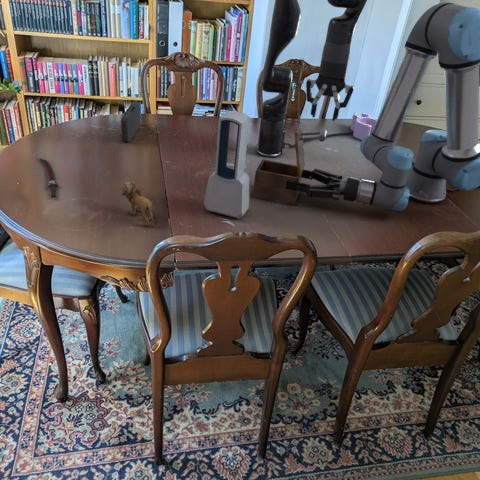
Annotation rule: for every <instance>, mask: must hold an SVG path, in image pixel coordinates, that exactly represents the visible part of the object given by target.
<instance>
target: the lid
mask: <svg viewBox="0 0 480 480" xmlns="http://www.w3.org/2000/svg"><path fill="white" fill-rule="evenodd" d="M293 134H294V145H295V147H294V148H295V159H296V166H297V172H298V177H301V175H302V172H303V169H304V170H305V166H306V163H305V161H306V160H305V150H304V149H305V148H304V142H303V140H309V141H314V140H315V141H316V140H318V141H319V142H325V141H326V138H327V137H326V135H328V131H327V130H326V129H325V128H323V129H321V130H320V131H310V132H303V121H300V122H299V123H298V125H297V124H296V127H295V129H294V131H293ZM315 135H316V136H315ZM304 136H305V137H304ZM317 136H319V137H317Z"/></svg>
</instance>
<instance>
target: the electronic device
mask: <svg viewBox="0 0 480 480" xmlns="http://www.w3.org/2000/svg"><path fill="white" fill-rule="evenodd" d="M250 118H251V116H249V115H248V114H246V113H244V112H241V111H237V110H236V111H235V110H232V111H227V112H225V114H223V115H222V116H220V117H219V118H218V125H217V127H218V128H217V139H216V154H215V155H216V156H215V166H214V167H215V168H214V169H215V170H214V171H213V172H212V173H211V174H210V175H209V177H208V181H207V185H206V190H205V195H204V199H203V206H204V208H205V210H206V211H208V212H211V213H215V214H219V215H223V216H226V217H230V218H233V219H238V220H239V219H241V218H242V217H243V216H244V215H245V214H246V213H247V211H248V210H249V208H250V176H249V174H247V172H246V171H245V165H246V156H247V145H248V137H249V130H250V129H249V128H250ZM231 123H232V124H235V125H237V131H236V144H235V155H234V163H233V165H234V166H233V168H230V167H228V166H227V164H228V154H229V153H228V152H229V141H230V129H231Z"/></svg>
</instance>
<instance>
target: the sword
mask: <svg viewBox="0 0 480 480" xmlns="http://www.w3.org/2000/svg"><path fill="white" fill-rule="evenodd" d="M40 161H41V162H42V163H43V165H44V166H45V169H46V173H47V176H48V185H47V188H50V198H56V197H57V189H56V188H57V187H59V185H58V184H57V183H56V180H55V176H54V172H53V169H52V167H51V164H50V163H49V161H48V160H46V159H43V158H40Z"/></svg>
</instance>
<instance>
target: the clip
mask: <svg viewBox="0 0 480 480" xmlns="http://www.w3.org/2000/svg"><path fill="white" fill-rule="evenodd" d="M358 114H359V113H358V112H353V114H352V118H351V122H350V126H349V129H350V130H351V131H352V132H353V134H352V136H353V137H354V138H356V139H358V140H361V141H362V140H363V139H364V138H365V137H366V136H368V135H371V134H372V131H373V129H374V127H375V124H376V122H377V119H378V118H374V117H372V115H371V114H369V113H366V112H361V115H358Z"/></svg>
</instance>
